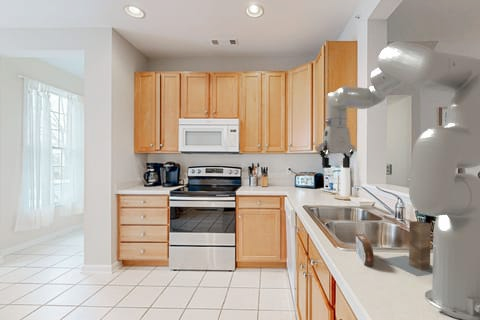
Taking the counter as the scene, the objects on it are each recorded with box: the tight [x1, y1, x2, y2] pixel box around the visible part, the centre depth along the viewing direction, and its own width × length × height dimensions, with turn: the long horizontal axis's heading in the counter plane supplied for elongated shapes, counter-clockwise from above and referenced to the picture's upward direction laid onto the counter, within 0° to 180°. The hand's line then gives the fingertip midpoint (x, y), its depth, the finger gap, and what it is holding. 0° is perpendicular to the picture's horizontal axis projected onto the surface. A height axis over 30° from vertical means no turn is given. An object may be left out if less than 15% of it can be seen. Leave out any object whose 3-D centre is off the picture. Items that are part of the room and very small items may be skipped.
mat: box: [379, 255, 433, 277], centre depth 89 cm, size 14×12×1 cm
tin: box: [354, 233, 375, 267], centre depth 93 cm, size 15×3×8 cm, turn 168°
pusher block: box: [408, 220, 432, 270], centre depth 87 cm, size 4×4×14 cm
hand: (336, 167), depth 108 cm, fingers open, 9 cm apart
